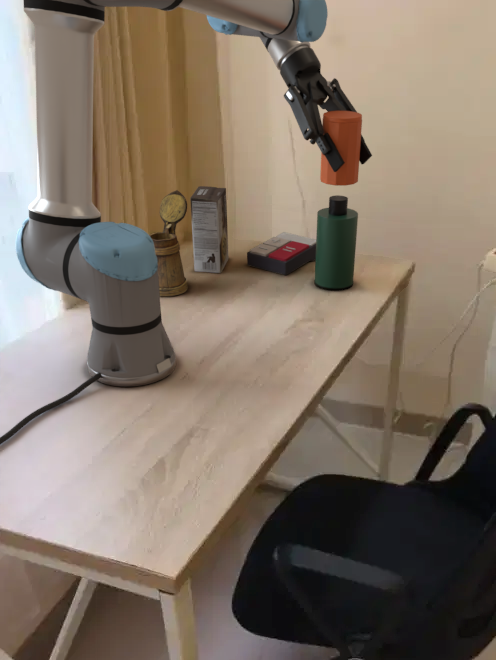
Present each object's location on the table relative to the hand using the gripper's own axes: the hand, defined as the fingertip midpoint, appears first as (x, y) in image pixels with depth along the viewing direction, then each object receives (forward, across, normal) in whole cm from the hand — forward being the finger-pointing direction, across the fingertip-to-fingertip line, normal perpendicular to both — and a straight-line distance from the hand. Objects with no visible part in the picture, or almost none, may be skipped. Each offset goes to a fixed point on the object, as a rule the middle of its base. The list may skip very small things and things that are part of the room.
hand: (353, 163), depth 146 cm
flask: (+15, 0, -20) cm, 25 cm away
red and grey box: (+3, -2, -32) cm, 33 cm away
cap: (0, 0, -5) cm, 5 cm away
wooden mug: (-1, +26, -37) cm, 45 cm away
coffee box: (-3, +12, -39) cm, 41 cm away
